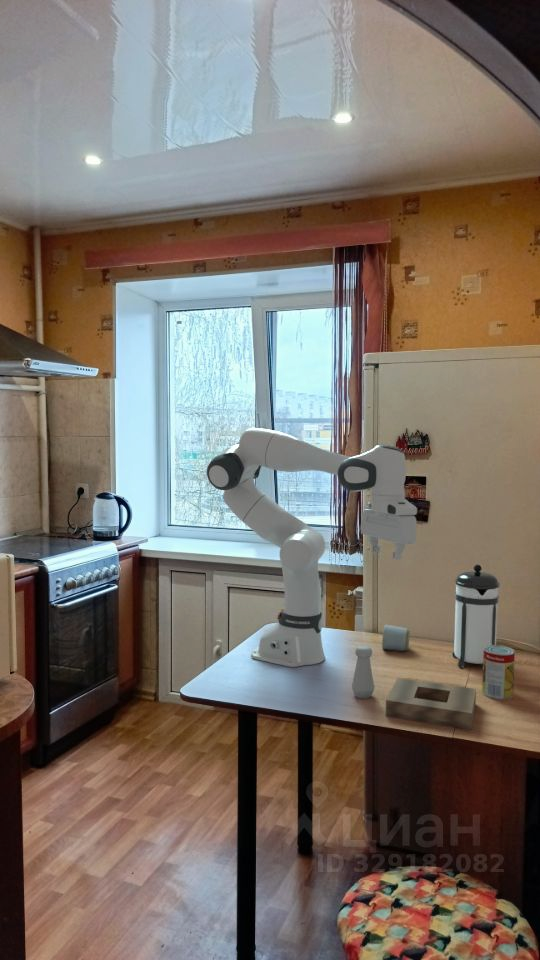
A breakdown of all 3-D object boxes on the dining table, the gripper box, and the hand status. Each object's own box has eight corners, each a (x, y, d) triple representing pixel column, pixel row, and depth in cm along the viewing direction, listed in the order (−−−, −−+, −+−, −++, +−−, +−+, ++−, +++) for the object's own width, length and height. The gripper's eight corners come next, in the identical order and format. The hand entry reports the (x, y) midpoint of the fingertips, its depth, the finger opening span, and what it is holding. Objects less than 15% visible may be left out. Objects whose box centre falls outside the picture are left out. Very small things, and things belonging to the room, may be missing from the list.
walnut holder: (385, 716, 162) (386, 700, 162) (397, 692, 177) (397, 677, 177) (471, 729, 155) (471, 713, 155) (475, 704, 170) (476, 688, 170)
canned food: (514, 691, 179) (515, 647, 178) (511, 701, 172) (513, 656, 171) (483, 686, 182) (485, 643, 182) (480, 696, 175) (481, 651, 174)
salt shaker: (373, 700, 171) (374, 651, 170) (351, 698, 172) (352, 649, 172) (374, 692, 177) (375, 644, 176) (352, 690, 178) (353, 642, 177)
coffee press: (513, 664, 200) (516, 565, 198) (478, 675, 191) (482, 571, 189) (466, 648, 214) (469, 556, 212) (432, 657, 205) (435, 561, 203)
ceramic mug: (408, 654, 208) (408, 630, 207) (381, 652, 210) (382, 628, 210) (409, 644, 218) (410, 621, 218) (384, 642, 220) (385, 619, 220)
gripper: (356, 501, 188) (354, 550, 189) (402, 509, 170) (400, 563, 171) (374, 501, 191) (372, 548, 192) (421, 508, 173) (419, 561, 173)
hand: (386, 555), depth 181 cm, fingers open, 8 cm apart
